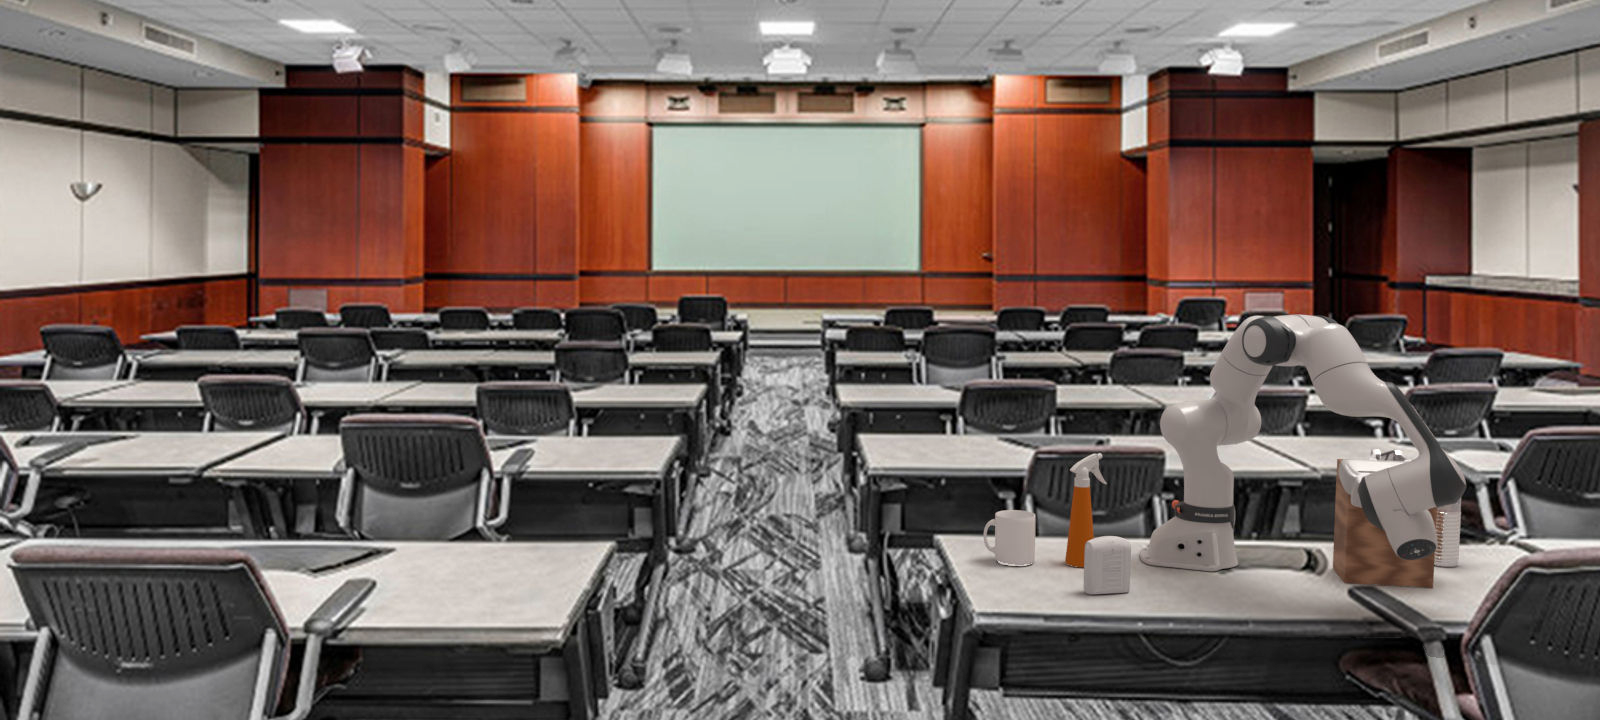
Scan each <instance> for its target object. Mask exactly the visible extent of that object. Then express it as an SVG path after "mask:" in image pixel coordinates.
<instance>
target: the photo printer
mask: <svg viewBox="0 0 1600 720" xmlns="http://www.w3.org/2000/svg"><path fill="white" fill-rule="evenodd" d="M1131 555H1132V547H1131V542H1130V540H1128V539H1127V538H1123V537H1120V536H1116V535H1115V536H1114V535H1104V536H1103V535H1102V536H1099V537H1098V536H1097V537H1094V539H1092V540H1089V541H1087V542H1086V544H1085V556H1084V568H1083V592H1084V593H1085V594H1087V595H1106V594H1120V593H1121V594H1122V593H1129V592H1130V589H1131V562H1132V556H1131Z"/></svg>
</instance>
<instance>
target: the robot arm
mask: <svg viewBox="0 0 1600 720" xmlns="http://www.w3.org/2000/svg"><path fill="white" fill-rule="evenodd" d="M1273 366H1277V367H1297V366H1305V368H1306V370H1307V372H1308V375H1309V378H1310V380H1311V383H1312V385H1313V388H1314V391H1316V392H1315V393H1316V394H1317V396H1318V399H1319V400H1320V401H1321V403H1322V405H1323V406H1324V407H1325V408H1326V409H1328V410H1329V411H1331V412H1333V413H1335V414H1338V415H1341V416H1347V417H1355V418H1356V417H1358V418H1359V417H1363V418H1364V417H1381V418H1389V419H1391V420H1393V421H1396V423H1398V424H1399V426H1400V427H1401V428H1402V430H1403V431H1404V433H1405V434H1406V436H1407V437H1408V439H1409V440H1410V441H1411V443H1412V445H1413V446H1414V447H1415V448H1416V450H1417V452H1418V456H1417V457H1416V458H1415V459H1411V458H1410V457H1408V456H1407V455H1405V454H1404V452H1403V450H1400V449H1398V450H1397V449H1393V450H1394V453H1393V458H1394V461H1383V460H1380V458H1381V450H1380V449H1377V448H1374V449H1373V448H1371V450H1370V457H1369V459H1358V458H1357V459H1354V458H1352V459H1351V458H1342V459H1343V460H1342V461H1341V462H1340V465H1339V471H1338V474H1339V478H1340V481H1341V483H1342V486H1343V488H1344V490H1345V491H1346V492H1347V493H1348V494H1349V495H1351V503H1352V505H1354V506H1356V507H1360V508H1362V509H1363V511H1364V514H1365V516H1366V518H1367V519H1368V521H1369V522H1370V523H1371V524H1373V525H1374V526H1376V527H1377V528H1379V529H1381V530H1385V532H1386V535H1387V538H1388V540H1389V542H1390V545H1391V547H1392V549H1393V550H1394V552H1395V554H1396V555H1397V556H1398V557H1399V558H1402V559H1405V560H1418V559H1422V558H1425V557H1428V556H1430V555H1431V554H1433V553H1434V552H1435V551H1436V549H1437V535H1436V529H1435V525H1434V521H1433V518H1432V515H1431V513H1430V512H1429V511H1428V509H1431V508H1434V507H1441V506H1446V505H1451V504H1455V503H1457V502H1458V501H1459V499H1460V498H1461V499H1462V496H1463V495H1464V494H1465V492H1466V489H1467V487H1468V486H1467V482H1466V477H1465V475H1464V473H1463V471H1462V469H1461V467H1460V466H1459V465H1458V464H1457V462H1456V461H1455V460H1454V459H1453V457H1451V456H1450V455H1449V454H1448V453H1447V452H1446V451H1445V450H1444V449H1443V447H1442V446H1441V444H1440V443H1439V442H1438V440H1437V438H1436V437H1435V435H1434V434H1433V433H1432V431H1431V430H1430V429H1429V427H1428V426H1427V424H1426V423H1425V422H1424V420H1423V418H1422V417H1421V416H1420V414H1419V413H1418V412H1417V409H1415V407H1414V406H1413V404H1412V403H1411V402H1410V400H1409V399H1408V397H1406V395H1405V394H1404V392H1403V391H1402V390H1401V389H1400V388H1399V387H1398V386H1397V385H1396V384H1395V383H1393V382H1391V381H1390V382H1389V381H1383V380H1382V379H1380V378H1379V377H1377V375H1375V373H1374V372H1373V371H1372V369H1371V368H1370V365H1369V363H1368V361H1367V359H1366V356H1365V355H1364V353H1363V351H1362V349H1361V347H1360V346H1359V344H1358V343H1357V341H1356V340H1355V338H1354V336H1353V335H1352V334H1351V332H1350V331H1349V330H1348V328H1346V327H1345V326H1344V325H1342V324H1339V323H1338V322H1337V320H1335V319H1333V318H1330V317H1328V316H1324V315H1320V314H1319V315H1318V314H1317V315H1316V314H1315V315H1308V314H1296V313H1295V314H1293V313H1292V314H1288V315H1287V314H1286V315H1277V316H1270V315H1267V316H1264V315H1253V316H1249V317H1247V318H1246V319H1244V320H1243V321H1242V323H1241V324H1240V325H1239V326H1238V327H1237V328H1236V329H1235V330H1234V332H1233V333H1232V335H1231V336H1230V337H1229V340H1228V341H1227V342H1226V344H1225V346H1224V347H1223V350H1221V353H1220V354H1219V356H1218V358H1217V360H1216V362H1215V364H1214V366H1213V368H1212V369H1211V371H1210V374H1209V380H1210V384H1211V387H1212V388H1213V390H1214V392H1215V395H1214V396H1212V398H1210V399H1206V400H1205V399H1203V400H1189V401H1188V400H1187V401H1182V402H1179V403H1175V404H1173V405H1169V406H1168V407H1166V408H1165V409H1164V410H1163V412H1162V414H1161V417H1160V421H1159V422H1160V423H1159V427H1160V432H1161V434H1162V436H1163V438H1164V440H1165V441H1166V442H1167V443H1168V444H1169V445H1170V446H1172V447H1173V449H1175V451H1176V453H1177V454H1178V457H1179V459H1180V461H1181V465H1182V469H1183V482H1184V483H1183V486H1184V487H1183V488H1184V489H1183V492H1184V493H1183V494H1184V495H1183V500H1182V501H1179V500H1177V499H1174V500H1173V501H1171V506H1172V508H1173V509H1174V516H1173V517H1172V518H1171V519H1169V520H1168V521H1166V522H1164V523H1163V524H1161V525H1159V526H1158V527H1157V528H1155V529H1154V530H1153V532H1152V534H1151V536H1150V540H1149V545H1148V546H1146V547H1144V548H1141V549H1140V551H1139V560H1140V561H1142V562H1143V563H1144V564H1146V565H1149V566H1155V567H1156V566H1157V567H1166V568H1167V567H1168V568H1175V569H1176V568H1177V569H1187V570H1193V571H1195V570H1196V571H1203V572H1205V571H1206V572H1217V571H1220V570H1222V569H1224V570H1225V569H1229V568H1234V567H1237V566H1238V565H1239V560H1238V557H1237V552H1236V545H1235V535H1234V528H1235V524H1236V509H1235V508H1236V506H1235V504H1234V485H1235V484H1234V483H1235V482H1234V481H1235V475H1234V472H1233V470H1232V469H1231V468H1230V466H1228V465H1227V464H1225V463H1223V462H1221V460H1220V457H1219V453H1218V449H1217V448H1218V446H1231V445H1238V444H1242V443H1245V442H1247V441H1248V442H1249V441H1250V440H1253V439H1254V438H1256V437H1257V436H1258V435H1259V433H1260V431H1261V427H1262V416H1261V413H1260V410H1259V409H1258V407H1257V406H1256V404H1255V403H1256V398H1257V395H1258V393H1259V391H1260V390H1261V387H1262V386H1263V384H1264V382H1265V381H1266V378H1267V377H1268V375H1269V373H1270V371H1271V370H1272V369H1273Z"/></svg>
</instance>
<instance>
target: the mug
mask: <svg viewBox="0 0 1600 720" xmlns="http://www.w3.org/2000/svg"><path fill="white" fill-rule="evenodd" d="M994 516H995V517H994V518H993V519H991V520H989V521H988V522H987V523H986V524H985V526H984V529H983V543H984V546H985V548H986V549H987V550H988V551H989V552H992V553H993V554H994V560H995V559H996V560H998V561H1000V562H1003V563H1008V564H1015V565H1024V564H1031V563H1033V562H1034V563H1035V559H1036V513H1034V512H1030V511H1027V510H1020V509H1019V510H1017V509H1007V510H1000V511H996V512H995V513H994ZM990 526H995V527H994V528H995V529H994V546H993V547H991V546H990V545H989V543H988V539H987V538H988V537H987V535H988V534H987V533H988V530H989V528H990ZM1034 563H1033V564H1034Z"/></svg>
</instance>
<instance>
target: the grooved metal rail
mask: <svg viewBox="0 0 1600 720" xmlns="http://www.w3.org/2000/svg"><path fill="white" fill-rule="evenodd" d="M1394 450H1395V449H1391V450H1388V451H1385V452H1382V453H1381V452H1380V453H1381V455H1380V460H1383V461H1394V458H1393V453H1394Z"/></svg>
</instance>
